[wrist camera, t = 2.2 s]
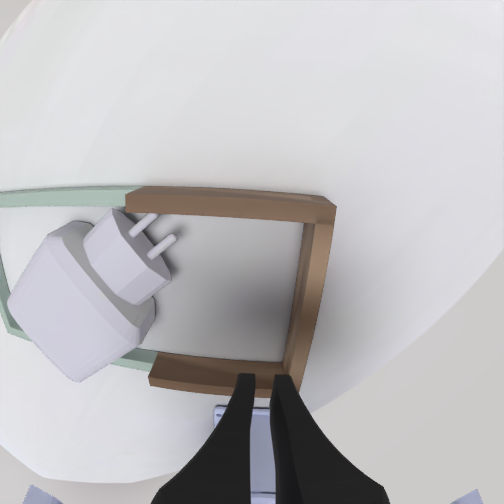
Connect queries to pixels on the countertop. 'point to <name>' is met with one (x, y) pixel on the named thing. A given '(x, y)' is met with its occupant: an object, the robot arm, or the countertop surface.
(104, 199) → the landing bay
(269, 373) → the brown wooden u-shaped frame
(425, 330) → the countertop surface
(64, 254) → the charger
